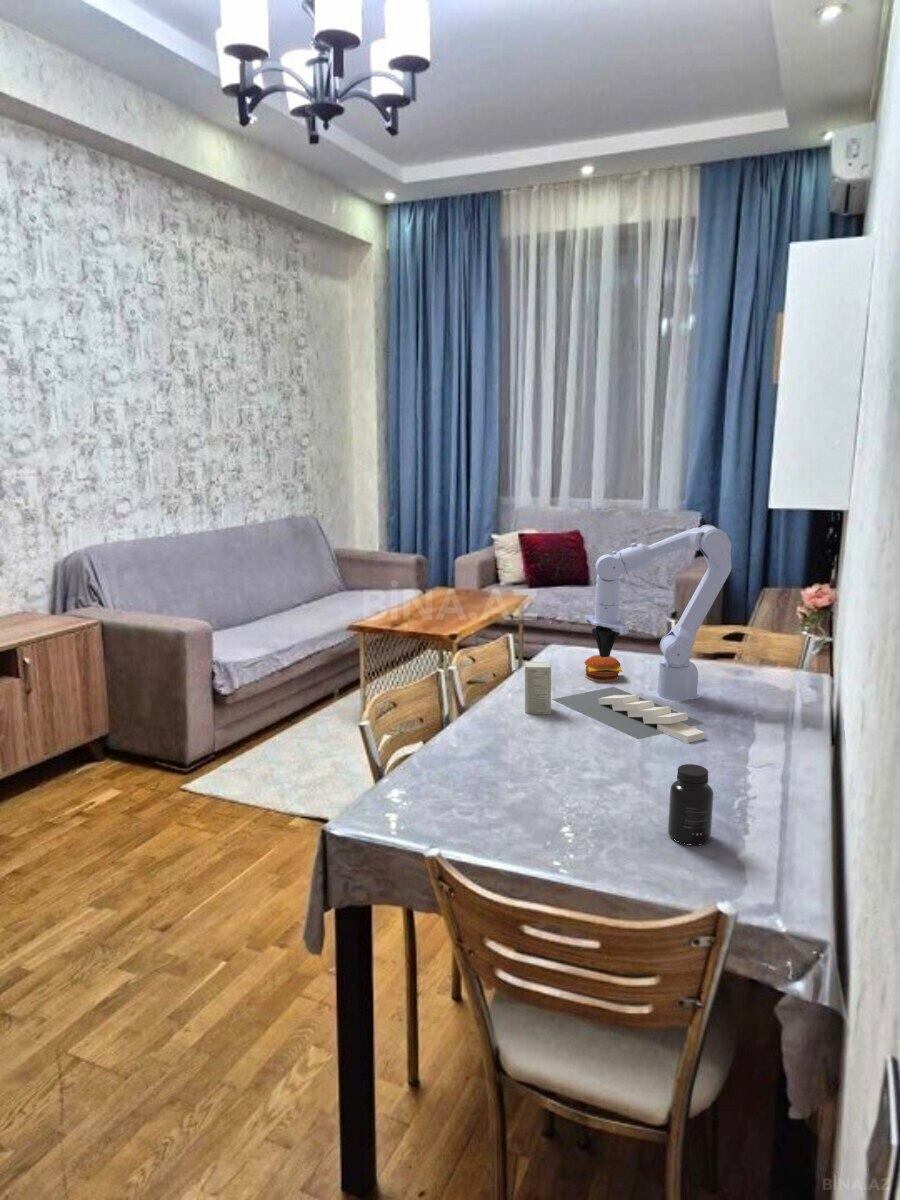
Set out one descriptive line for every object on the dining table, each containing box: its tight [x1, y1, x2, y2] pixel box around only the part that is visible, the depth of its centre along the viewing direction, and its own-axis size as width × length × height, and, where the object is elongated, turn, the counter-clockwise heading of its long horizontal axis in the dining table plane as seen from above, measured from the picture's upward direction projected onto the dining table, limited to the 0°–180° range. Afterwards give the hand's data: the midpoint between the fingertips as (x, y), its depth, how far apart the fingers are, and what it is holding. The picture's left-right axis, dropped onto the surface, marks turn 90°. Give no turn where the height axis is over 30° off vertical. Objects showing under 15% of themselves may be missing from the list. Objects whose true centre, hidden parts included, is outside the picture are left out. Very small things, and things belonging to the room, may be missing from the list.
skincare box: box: [524, 661, 552, 715], centre depth 194 cm, size 6×4×12 cm
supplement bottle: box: [667, 763, 714, 846], centre depth 134 cm, size 7×7×12 cm
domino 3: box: [627, 706, 672, 717], centre depth 187 cm, size 2×5×9 cm
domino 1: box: [598, 694, 640, 705], centre depth 196 cm, size 2×5×9 cm
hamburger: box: [583, 654, 623, 683], centre depth 220 cm, size 9×10×7 cm
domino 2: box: [612, 700, 655, 711], centre depth 192 cm, size 2×5×9 cm
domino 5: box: [657, 722, 705, 744], centre depth 179 cm, size 2×5×9 cm
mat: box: [551, 686, 704, 740], centre depth 195 cm, size 20×31×1 cm, turn 30°
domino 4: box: [643, 712, 689, 724], centre depth 183 cm, size 2×5×9 cm
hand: (604, 656), depth 205 cm, fingers closed
